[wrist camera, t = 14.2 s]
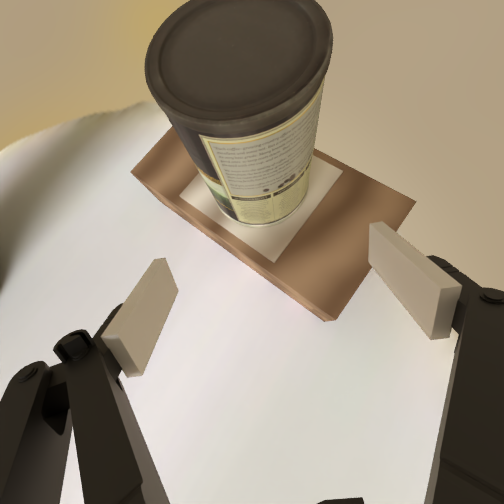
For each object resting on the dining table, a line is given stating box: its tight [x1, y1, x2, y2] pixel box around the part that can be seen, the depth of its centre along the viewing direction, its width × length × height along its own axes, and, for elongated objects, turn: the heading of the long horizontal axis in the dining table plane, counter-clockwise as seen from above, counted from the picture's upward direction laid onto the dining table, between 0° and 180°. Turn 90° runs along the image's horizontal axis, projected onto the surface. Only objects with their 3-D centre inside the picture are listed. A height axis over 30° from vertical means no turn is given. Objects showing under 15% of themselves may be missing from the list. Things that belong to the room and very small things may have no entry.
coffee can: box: [145, 0, 333, 228], centre depth 20 cm, size 10×10×14 cm
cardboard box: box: [131, 126, 416, 322], centre depth 31 cm, size 28×14×8 cm, turn 53°
